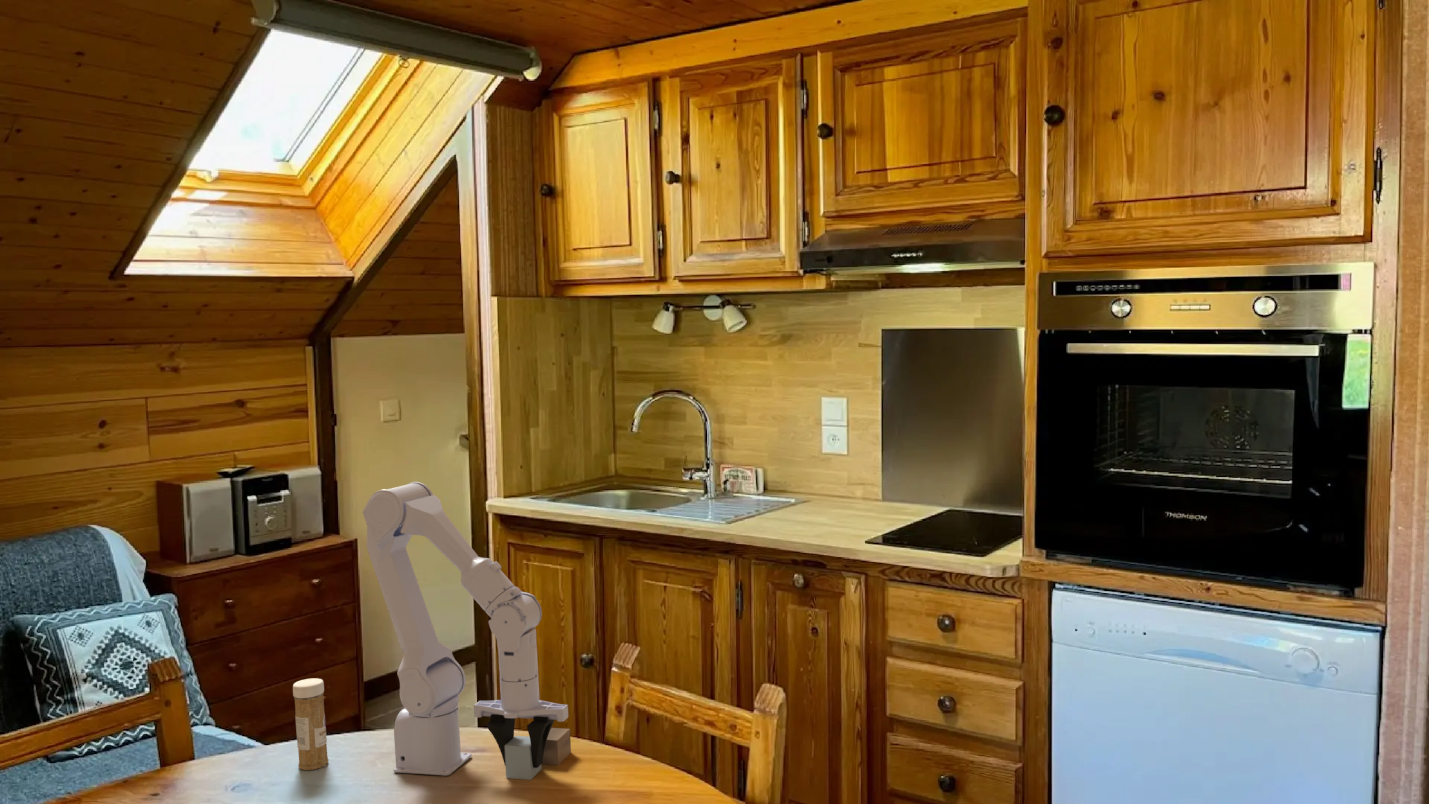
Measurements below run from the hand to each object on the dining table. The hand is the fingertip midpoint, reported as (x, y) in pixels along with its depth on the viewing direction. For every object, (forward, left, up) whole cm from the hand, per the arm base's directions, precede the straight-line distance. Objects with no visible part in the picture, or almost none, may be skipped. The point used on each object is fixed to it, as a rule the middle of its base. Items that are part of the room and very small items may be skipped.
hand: (523, 764), depth 164 cm
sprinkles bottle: (-35, -2, -2) cm, 35 cm away
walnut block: (+2, +6, -2) cm, 7 cm away
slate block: (0, 0, -1) cm, 1 cm away
